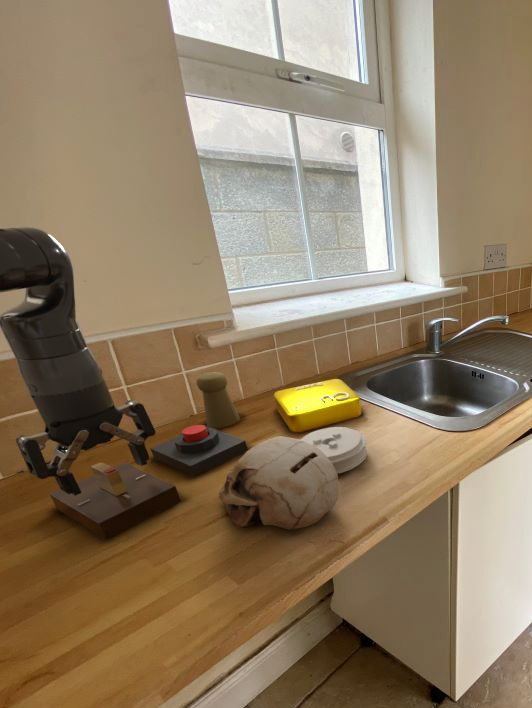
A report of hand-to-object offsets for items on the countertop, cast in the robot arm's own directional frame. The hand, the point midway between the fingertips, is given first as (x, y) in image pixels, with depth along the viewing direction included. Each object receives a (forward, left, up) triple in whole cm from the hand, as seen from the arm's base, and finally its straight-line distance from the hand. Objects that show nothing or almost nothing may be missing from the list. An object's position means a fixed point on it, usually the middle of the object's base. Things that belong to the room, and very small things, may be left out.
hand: (110, 477), depth 69 cm
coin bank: (+23, +11, -5) cm, 26 cm away
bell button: (-4, +15, -2) cm, 15 cm away
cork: (-13, +25, -5) cm, 29 cm away
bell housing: (-4, +15, -5) cm, 16 cm away
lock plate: (0, 0, -5) cm, 5 cm away
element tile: (+1, +38, -5) cm, 38 cm away
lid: (+19, +25, -5) cm, 32 cm away
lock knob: (0, 0, -2) cm, 2 cm away
